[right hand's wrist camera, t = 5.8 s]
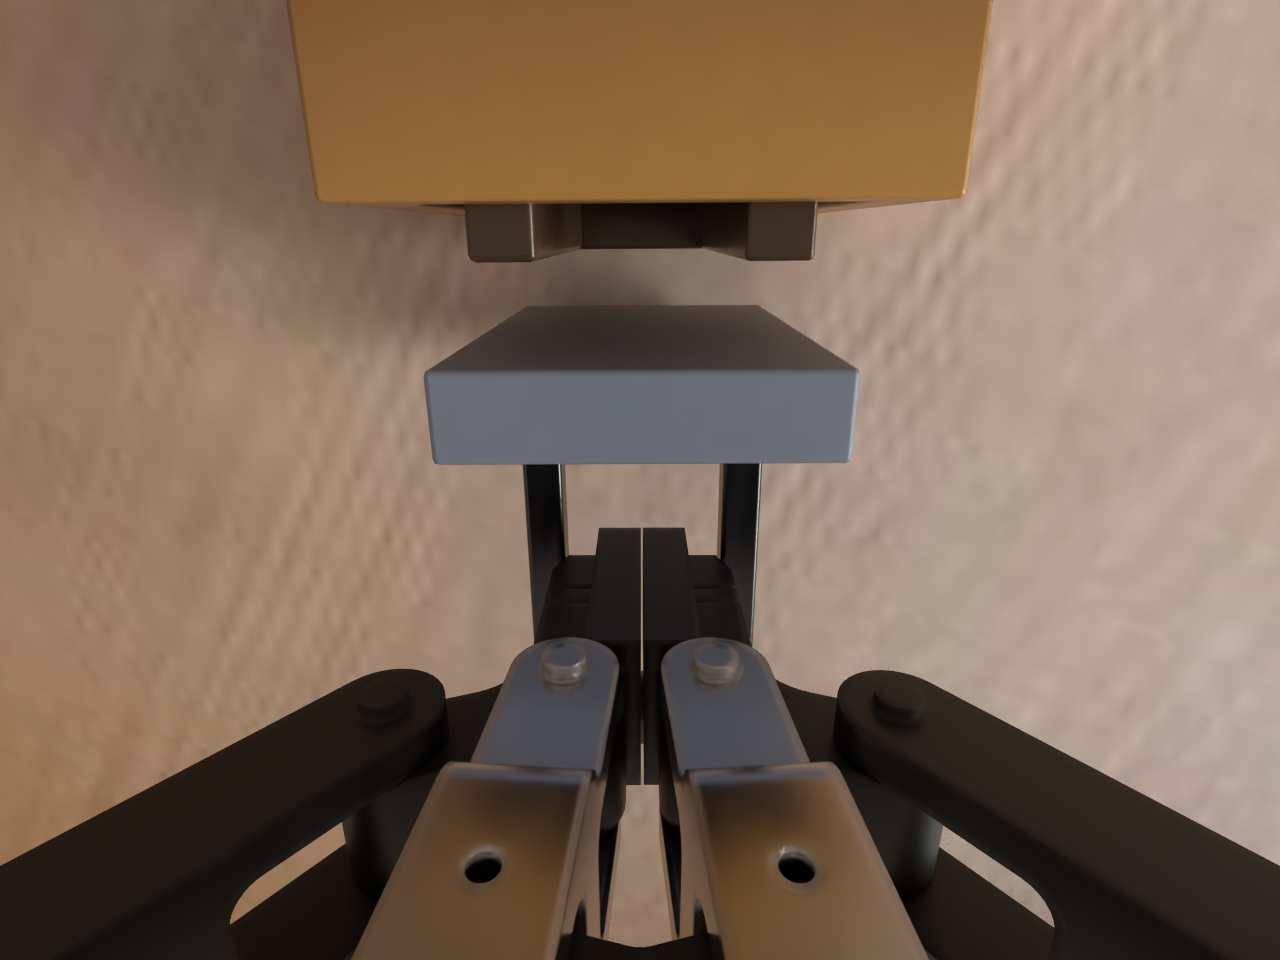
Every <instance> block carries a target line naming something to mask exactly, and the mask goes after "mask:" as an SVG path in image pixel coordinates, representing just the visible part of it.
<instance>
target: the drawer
mask: <svg viewBox="0 0 1280 960" xmlns="http://www.w3.org/2000/svg"><path fill="white" fill-rule="evenodd" d="M817 211H818V202H699V203H555V204H464V212H465V224H466V236H467V247H468V255H469V258H470V260H472V261H474V262H532V261H536V260H540V259H543V258H547V257H551V256H555V255H558V254H562V253H566V252H570V251H573V250H577V249H675V248H705V249H708V250H712V251H716V252H719V253H723V254H727V255H730V256H734V257H738V258H741V259H745V260H749V261H787V260H811V259H813V257H814V252H815V239H816V225H817ZM859 379H860V373H859V370H858V369H857V368H855V367H854V366H852V365H851V364H849V363H847V362H846V361H844V360H843V359H841V358H840V357H838V356H836V355H835V354H833V353H832V352H830V351H829V350H827V349H826V348H824V347H822V346H821V345H819V344H818V343H816V342H815V341H813V340H811V339H810V338H808V337H807V336H805V335H804V334H802V333H800V332H799V331H797V330H796V329H794V328H793V327H791V326H790V325H788V324H786V323H785V322H783V321H782V320H780V319H779V318H777V317H775V316H774V315H772V314H771V313H769V312H768V311H766V310H764V309H763V308H761V307H760V306H758V305H706V306H541V307H526V308H524V309H522V310H521V311H519V312H518V313H516V314H514V315H513V316H511V317H510V318H508V319H507V320H505V321H504V322H502V323H500V324H499V325H497V326H496V327H494V328H493V329H491V330H490V331H488V332H486V333H485V334H483V335H482V336H480V337H479V338H477V339H476V340H474V341H472V342H471V343H469V344H468V345H466V346H465V347H463V348H462V349H460V350H458V351H457V352H455V353H454V354H452V355H451V356H449V357H448V358H446V359H444V360H443V361H441V362H440V363H438V364H437V365H435V366H434V367H432V368H430V369H429V370H427V371H426V372H425V374H424V384H425V393H426V403H427V412H428V421H429V430H430V439H431V448H432V457H433V460H434V463H436V464H439V465H505V464H523V477H524V492H525V507H526V523H527V538H528V553H529V569H530V584H531V599H532V615H533V630H534V641H535V637H536V633H537V629H538V625H539V621H540V617H541V613H542V609H543V605H544V603H545V598H546V594H547V590H548V586H549V582H550V578H551V574H552V570H553V569H554V568H555V567H556V566H557V565H558V564H559V563H560V562H562V561H563V560H564V559H565V558H566V557H567V556H568V555H569V545H568V522H567V500H566V477H565V464H715V463H720V478H719V508H718V538H717V557H718V558H719V559H720V560H721V561H722V562H724V563H725V564H726V565H727V566H728V567H729V568H730V569H731V570H732V574H733V578H734V582H735V585H736V589H737V593H738V597H739V603H740V604H741V608H742V612H743V616H744V619H745V623H746V627H747V631H748V634H749V638H750V642H751V646H752V642H753V623H754V605H755V586H756V568H757V550H758V531H759V513H760V494H761V476H762V463H846V462H849V461H850V459H851V457H852V450H853V440H854V430H855V420H856V410H857V399H858V389H859ZM641 744H644V718H643V671H641Z"/></svg>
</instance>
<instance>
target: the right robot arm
mask: <svg viewBox="0 0 1280 960" xmlns="http://www.w3.org/2000/svg"><path fill="white" fill-rule="evenodd" d="M643 718H644V785H659V802H660V807H659V838H660V846H661V854H662V862H663V870H664V878H665V887H666V895H667V903H668V911H669V919H670V927H671V935H672V941H669V942H665V943H662V944H658V945H654V946H649V947H631V946H626V945H622V944H618V943H615V942H611V941H608V935H609V927H610V919H611V911H612V903H613V895H614V887H615V879H616V871H617V863H618V855H619V847H620V839H621V817H622V815H623V812H624V810H625V803H626V785H641V528H599V533H598V541H597V548H596V555H568V556H567V557H566V558H565V559H564V560H563V561H562V562H560V563H559V564H558V565H557V566H556V567H555V568H554V569H553V570H552V574H551V578H550V582H549V586H548V590H547V594H546V598H545V603H544V605H543V609H542V613H541V617H540V621H539V625H538V629H537V633H536V637H535V641H534V645H532V646H530V647H528V648H527V649H525V650H524V651H522V652H521V653H520V654H519V655H518V656H517V657H516V658H515V659H514V661H513V662H512V664H511V666H510V668H509V671H508V673H507V676H506V678H505V680H504V683H502V684H500V685H498V686H496V687H493V688H490V689H487V690H484V691H480V692H476V693H471V694H467V695H462V696H457V697H452V698H448V699H446V698H445V690H444V687H443V685H442V683H441V682H440V681H439V680H438V679H437V678H436V677H434V676H433V675H431V674H429V673H426V672H423V671H419V670H413V669H391V670H385V671H380V672H376V673H372V674H369V675H366V676H363V677H361V678H359V679H356V680H354V681H352V682H350V683H348V684H346V685H344V686H343V687H341V688H339V689H337V690H335V691H333V692H331V693H329V694H327V695H325V696H323V697H322V698H320V699H318V700H316V701H314V702H312V703H310V704H308V705H306V706H304V707H303V708H301V709H299V710H297V711H295V712H293V713H291V714H289V715H287V716H285V717H283V718H282V719H280V720H278V721H276V722H274V723H272V724H270V725H268V726H266V727H264V728H262V729H261V730H259V731H257V732H255V733H253V734H251V735H249V736H247V737H245V738H243V739H241V740H240V741H238V742H236V743H234V744H232V745H230V746H228V747H226V748H224V749H222V750H221V751H219V752H217V753H215V754H213V755H211V756H209V757H207V758H205V759H203V760H201V761H200V762H198V763H196V764H194V765H192V766H190V767H188V768H186V769H184V770H182V771H180V772H179V773H177V774H175V775H173V776H171V777H169V778H167V779H165V780H163V781H161V782H159V783H158V784H156V785H154V786H152V787H150V788H148V789H146V790H144V791H142V792H140V793H139V794H137V795H135V796H133V797H131V798H129V799H127V800H125V801H123V802H121V803H119V804H118V805H116V806H114V807H112V808H110V809H108V810H106V811H104V812H102V813H100V814H98V815H97V816H95V817H93V818H91V819H89V820H87V821H85V822H83V823H81V824H79V825H77V826H76V827H74V828H72V829H70V830H68V831H66V832H64V833H62V834H60V835H58V836H56V837H55V838H53V839H51V840H49V841H47V842H45V843H43V844H41V845H39V846H37V847H36V848H34V849H32V850H30V851H28V852H26V853H24V854H22V855H20V856H18V857H16V858H15V859H13V860H11V861H9V862H7V863H5V864H3V865H1V866H0V960H1280V866H1279V865H1277V864H1275V863H1273V862H1271V861H1269V860H1267V859H1265V858H1264V857H1262V856H1260V855H1258V854H1256V853H1254V852H1252V851H1250V850H1248V849H1246V848H1244V847H1243V846H1241V845H1239V844H1237V843H1235V842H1233V841H1231V840H1229V839H1227V838H1225V837H1223V836H1222V835H1220V834H1218V833H1216V832H1214V831H1212V830H1210V829H1208V828H1206V827H1204V826H1202V825H1201V824H1199V823H1197V822H1195V821H1193V820H1191V819H1189V818H1187V817H1185V816H1183V815H1181V814H1180V813H1178V812H1176V811H1174V810H1172V809H1170V808H1168V807H1166V806H1164V805H1162V804H1161V803H1159V802H1157V801H1155V800H1153V799H1151V798H1149V797H1147V796H1145V795H1143V794H1141V793H1140V792H1138V791H1136V790H1134V789H1132V788H1130V787H1128V786H1126V785H1124V784H1122V783H1120V782H1119V781H1117V780H1115V779H1113V778H1111V777H1109V776H1107V775H1105V774H1103V773H1101V772H1099V771H1098V770H1096V769H1094V768H1092V767H1090V766H1088V765H1086V764H1084V763H1082V762H1080V761H1078V760H1077V759H1075V758H1073V757H1071V756H1069V755H1067V754H1065V753H1063V752H1061V751H1059V750H1058V749H1056V748H1054V747H1052V746H1050V745H1048V744H1046V743H1044V742H1042V741H1040V740H1038V739H1037V738H1035V737H1033V736H1031V735H1029V734H1027V733H1025V732H1023V731H1021V730H1019V729H1017V728H1016V727H1014V726H1012V725H1010V724H1008V723H1006V722H1004V721H1002V720H1000V719H998V718H996V717H995V716H993V715H991V714H989V713H987V712H985V711H983V710H981V709H979V708H977V707H975V706H974V705H972V704H970V703H968V702H966V701H964V700H962V699H960V698H958V697H956V696H955V695H953V694H951V693H949V692H947V691H945V690H943V689H941V688H939V687H937V686H935V685H934V684H932V683H930V682H927V681H925V680H923V679H921V678H918V677H915V676H912V675H909V674H905V673H901V672H895V671H885V670H873V671H866V672H861V673H858V674H855V675H853V676H851V677H849V678H848V679H846V680H845V681H844V682H843V683H842V684H841V686H840V688H839V690H838V695H837V698H834V697H829V696H825V695H820V694H815V693H810V692H806V691H802V690H799V689H796V688H793V687H790V686H788V685H786V684H784V683H781V682H779V681H778V680H776V679H775V678H774V675H773V673H772V671H771V668H770V666H769V664H768V662H767V660H766V659H765V658H764V657H763V656H762V654H760V653H759V652H758V651H757V650H755V649H753V648H752V646H751V642H750V638H749V634H748V631H747V627H746V623H745V619H744V616H743V612H742V608H741V604H740V603H739V597H738V593H737V589H736V585H735V582H734V578H733V574H732V570H731V569H730V568H729V567H728V566H727V565H726V564H725V563H724V562H722V561H721V560H720V559H719V558H718V557H717V556H716V555H688V548H687V541H686V535H685V528H643ZM341 822H342V825H343V830H344V836H345V841H346V844H344V845H343V846H341V847H340V848H339V849H337V850H336V851H334V852H333V853H331V854H330V855H329V856H327V857H326V858H324V859H323V860H322V861H320V862H319V863H317V864H316V865H314V866H313V867H312V868H310V869H309V870H307V871H306V872H304V873H303V874H302V875H300V876H299V877H297V878H296V879H295V880H293V881H292V882H290V883H289V884H287V885H286V886H285V887H283V888H282V889H280V890H279V891H278V892H276V893H275V894H273V895H272V896H270V897H269V898H268V899H266V900H265V901H263V902H262V903H260V904H259V905H258V906H256V907H255V908H253V909H252V910H251V911H249V912H248V913H246V914H245V915H243V916H242V917H241V918H239V919H238V920H236V921H235V922H233V923H232V924H230V918H231V915H232V912H233V909H234V907H235V905H236V904H237V902H238V900H239V899H240V897H241V896H242V895H243V893H244V892H245V891H246V890H247V889H248V887H249V886H250V885H251V884H253V883H254V882H255V881H256V880H257V879H258V878H260V877H261V876H262V875H264V874H265V873H267V872H268V871H270V870H271V869H273V868H274V867H276V866H277V865H279V864H280V863H282V862H283V861H285V860H286V859H287V858H289V857H290V856H292V855H293V854H295V853H296V852H298V851H299V850H301V849H302V848H304V847H305V846H307V845H308V844H310V843H311V842H313V841H314V840H316V839H317V838H319V837H320V836H321V835H323V834H324V833H326V832H327V831H329V830H330V829H332V828H333V827H335V826H336V825H338V824H339V823H341ZM943 825H944V826H945V827H947V828H948V829H950V830H951V831H953V832H954V833H955V834H957V835H958V836H960V837H961V838H963V839H964V840H966V841H967V842H969V843H970V844H972V845H973V846H975V847H976V848H978V849H979V850H981V851H982V852H984V853H985V854H987V855H988V856H989V857H991V858H992V859H994V860H995V861H997V862H998V863H1000V864H1001V865H1003V866H1004V867H1006V868H1007V869H1009V870H1010V871H1012V872H1013V873H1015V874H1016V875H1018V876H1019V877H1021V878H1022V879H1023V880H1025V881H1026V882H1027V883H1028V884H1030V885H1031V886H1032V887H1033V888H1034V889H1035V890H1036V891H1037V892H1038V894H1039V895H1040V896H1041V897H1042V899H1043V900H1044V901H1045V903H1046V904H1047V906H1048V908H1049V910H1050V912H1051V914H1052V917H1053V920H1054V926H1055V928H1054V927H1052V926H1051V925H1049V924H1048V923H1046V922H1045V921H1044V920H1042V919H1041V918H1039V917H1038V916H1037V915H1035V914H1034V913H1032V912H1031V911H1029V910H1028V909H1027V908H1025V907H1024V906H1022V905H1021V904H1019V903H1018V902H1017V901H1015V900H1014V899H1012V898H1011V897H1010V896H1008V895H1007V894H1005V893H1004V892H1002V891H1001V890H1000V889H998V888H997V887H995V886H994V885H992V884H991V883H990V882H988V881H987V880H985V879H984V878H983V877H981V876H980V875H978V874H977V873H975V872H974V871H973V870H971V869H970V868H968V867H967V866H966V865H964V864H963V863H961V862H960V861H958V860H957V859H956V858H954V857H953V856H951V855H950V854H948V853H947V852H946V851H944V850H943V849H941V848H940V847H939V844H940V839H941V834H942V828H943Z"/></svg>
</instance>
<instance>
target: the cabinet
mask: <svg viewBox="0 0 1280 960" xmlns="http://www.w3.org/2000/svg"><path fill="white" fill-rule="evenodd" d="M286 1H287V7H288V14H289V21H290V28H291V34H292V41H293V48H294V54H295V61H296V68H297V75H298V81H299V88H300V95H301V102H302V108H303V115H304V122H305V128H306V135H307V142H308V149H309V155H310V162H311V169H312V176H313V182H314V189H315V195H316V197H317V199H318V201H321V202H323V203H331V204H342V205H353V206H364V207H375V208H386V209H397V210H408V211H419V212H430V213H441V214H452V215H463V216H465V212H464V204H555V203H699V202H818V211H817V213H825V212H835V211H844V210H854V209H863V208H872V207H882V206H891V205H901V204H910V203H920V202H929V201H939V200H948V199H957V198H960V197H962V196H964V195H965V193H966V190H967V183H968V176H969V169H970V162H971V154H972V147H973V140H974V133H975V125H976V118H977V111H978V103H979V96H980V89H981V82H982V74H983V67H984V60H985V53H986V45H987V38H988V31H989V23H990V16H991V9H992V2H993V0H286Z"/></svg>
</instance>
